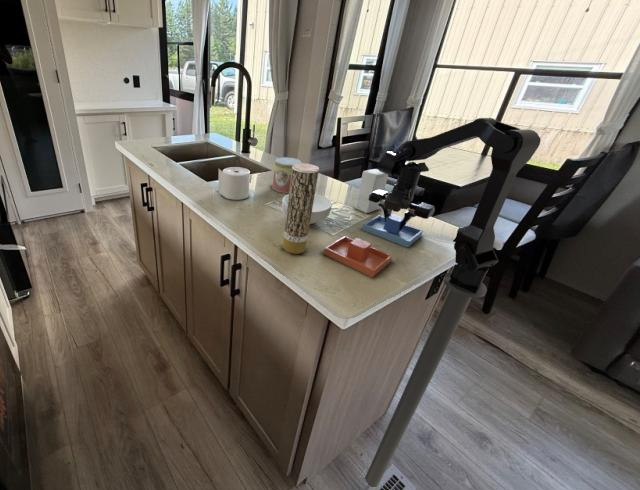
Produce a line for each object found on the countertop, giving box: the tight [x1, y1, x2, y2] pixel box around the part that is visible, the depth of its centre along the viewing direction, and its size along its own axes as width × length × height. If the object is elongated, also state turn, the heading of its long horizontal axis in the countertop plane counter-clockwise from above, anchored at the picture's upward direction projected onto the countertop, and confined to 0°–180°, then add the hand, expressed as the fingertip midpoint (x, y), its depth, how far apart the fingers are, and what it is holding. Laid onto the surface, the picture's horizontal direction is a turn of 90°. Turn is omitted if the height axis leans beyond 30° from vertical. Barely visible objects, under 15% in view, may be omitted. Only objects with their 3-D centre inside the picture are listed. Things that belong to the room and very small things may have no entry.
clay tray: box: [323, 235, 393, 278], centre depth 93 cm, size 15×11×2 cm
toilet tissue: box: [217, 166, 251, 201], centre depth 130 cm, size 11×12×10 cm
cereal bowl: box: [282, 193, 333, 225], centre depth 113 cm, size 17×17×7 cm
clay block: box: [347, 237, 372, 262], centre depth 93 cm, size 4×4×4 cm
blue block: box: [383, 213, 404, 234], centre depth 107 cm, size 4×4×4 cm
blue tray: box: [361, 214, 424, 248], centre depth 108 cm, size 15×11×2 cm
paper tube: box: [282, 162, 320, 255], centre depth 91 cm, size 7×7×25 cm
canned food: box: [271, 156, 303, 194], centre depth 138 cm, size 11×11×12 cm
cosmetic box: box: [354, 168, 389, 214], centre depth 122 cm, size 8×6×15 cm
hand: (393, 227), depth 107 cm, fingers closed on blue block, 4 cm apart
